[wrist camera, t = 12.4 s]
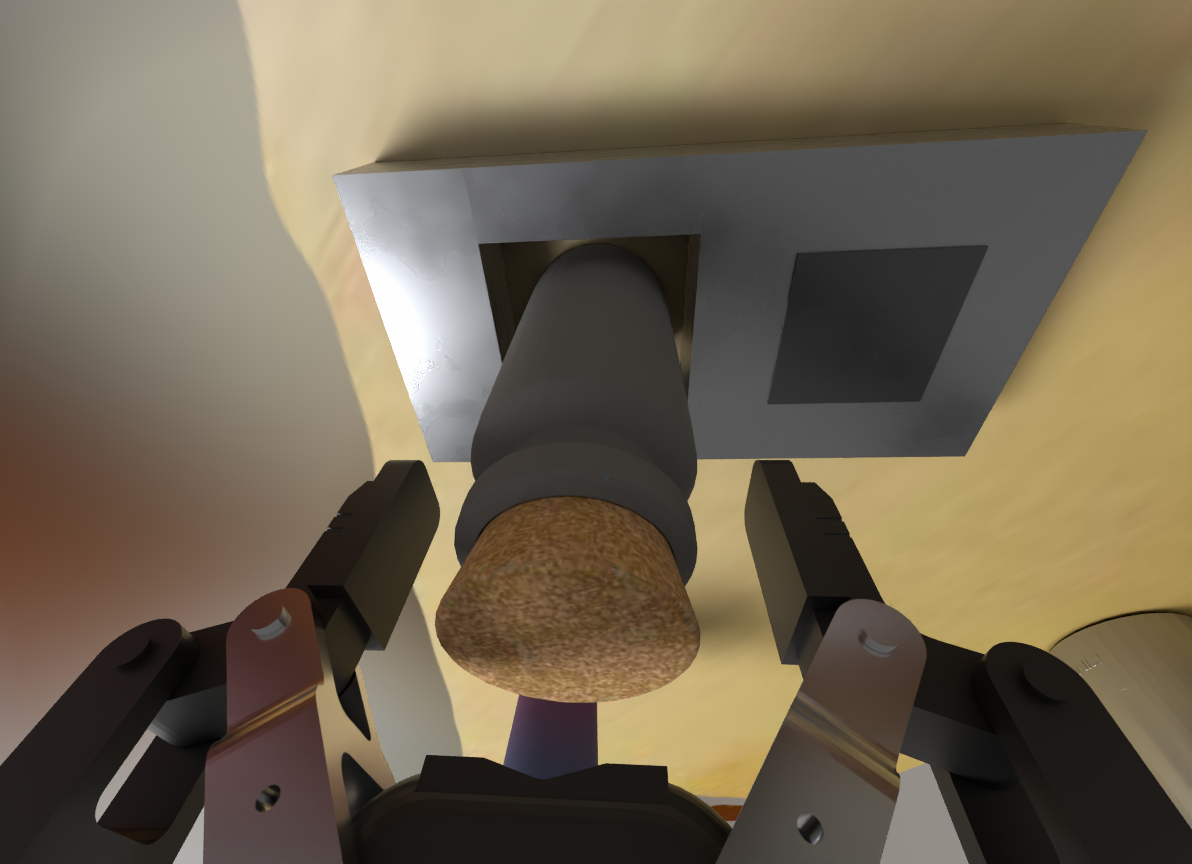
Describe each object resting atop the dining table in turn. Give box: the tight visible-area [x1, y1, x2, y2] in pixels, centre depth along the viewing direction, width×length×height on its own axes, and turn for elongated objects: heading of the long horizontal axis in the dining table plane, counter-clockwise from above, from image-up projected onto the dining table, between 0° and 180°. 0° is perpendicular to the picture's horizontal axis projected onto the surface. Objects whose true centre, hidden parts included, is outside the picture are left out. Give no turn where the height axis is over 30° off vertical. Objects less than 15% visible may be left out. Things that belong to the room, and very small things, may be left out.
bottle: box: [435, 244, 700, 703], centre depth 14 cm, size 6×6×15 cm
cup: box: [503, 695, 598, 779], centre depth 31 cm, size 7×7×15 cm
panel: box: [332, 123, 1148, 462], centre depth 19 cm, size 24×12×3 cm, turn 93°
